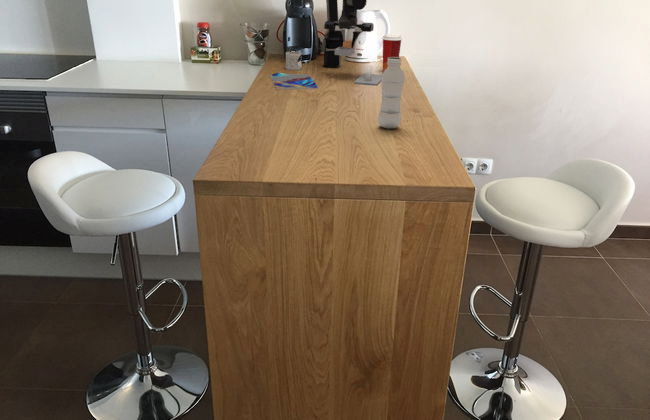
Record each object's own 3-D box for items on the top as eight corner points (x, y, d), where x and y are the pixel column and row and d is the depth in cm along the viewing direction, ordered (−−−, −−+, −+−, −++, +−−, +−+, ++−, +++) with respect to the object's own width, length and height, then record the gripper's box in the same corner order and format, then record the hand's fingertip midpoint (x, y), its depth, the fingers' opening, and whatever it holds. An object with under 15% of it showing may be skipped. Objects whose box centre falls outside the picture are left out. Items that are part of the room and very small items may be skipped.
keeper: (353, 83, 221) (354, 68, 218) (363, 74, 236) (364, 60, 234) (376, 85, 219) (377, 70, 216) (385, 76, 234) (386, 62, 232)
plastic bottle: (375, 124, 170) (380, 55, 162) (398, 124, 171) (403, 56, 163) (379, 131, 165) (384, 60, 156) (402, 131, 165) (408, 60, 157)
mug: (301, 70, 241) (301, 54, 238) (285, 70, 241) (285, 53, 238) (302, 66, 250) (302, 50, 247) (286, 65, 250) (286, 49, 247)
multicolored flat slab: (270, 76, 231) (270, 71, 230) (307, 76, 234) (307, 71, 233) (276, 91, 208) (276, 85, 208) (317, 90, 211) (317, 85, 210)
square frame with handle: (343, 49, 235) (343, 39, 233) (358, 50, 234) (359, 40, 232) (334, 54, 222) (334, 44, 221) (350, 55, 221) (351, 45, 219)
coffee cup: (399, 70, 246) (402, 34, 240) (399, 74, 239) (402, 37, 233) (379, 69, 247) (382, 33, 241) (379, 73, 240) (381, 36, 233)
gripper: (320, 7, 217) (319, 50, 224) (369, 10, 213) (366, 53, 220) (328, 5, 227) (327, 45, 234) (375, 7, 223) (372, 49, 229)
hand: (348, 48), depth 229 cm, fingers closed on square frame with handle, 3 cm apart
